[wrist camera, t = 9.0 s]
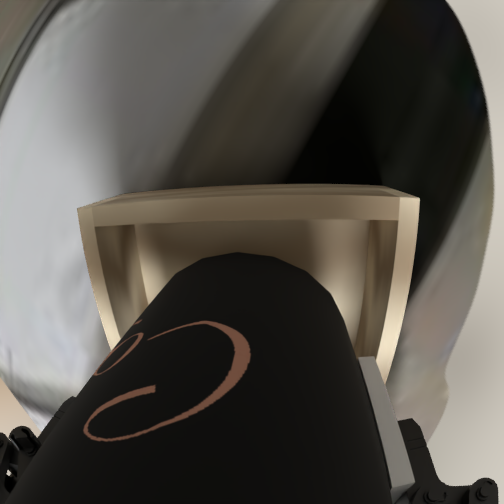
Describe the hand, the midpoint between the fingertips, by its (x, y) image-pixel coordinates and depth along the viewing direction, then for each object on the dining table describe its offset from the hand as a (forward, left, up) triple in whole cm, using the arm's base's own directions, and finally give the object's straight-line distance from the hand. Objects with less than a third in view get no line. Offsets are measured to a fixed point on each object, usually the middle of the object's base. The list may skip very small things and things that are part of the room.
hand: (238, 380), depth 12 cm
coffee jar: (0, 0, -4) cm, 4 cm away
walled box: (+2, 0, -7) cm, 7 cm away
